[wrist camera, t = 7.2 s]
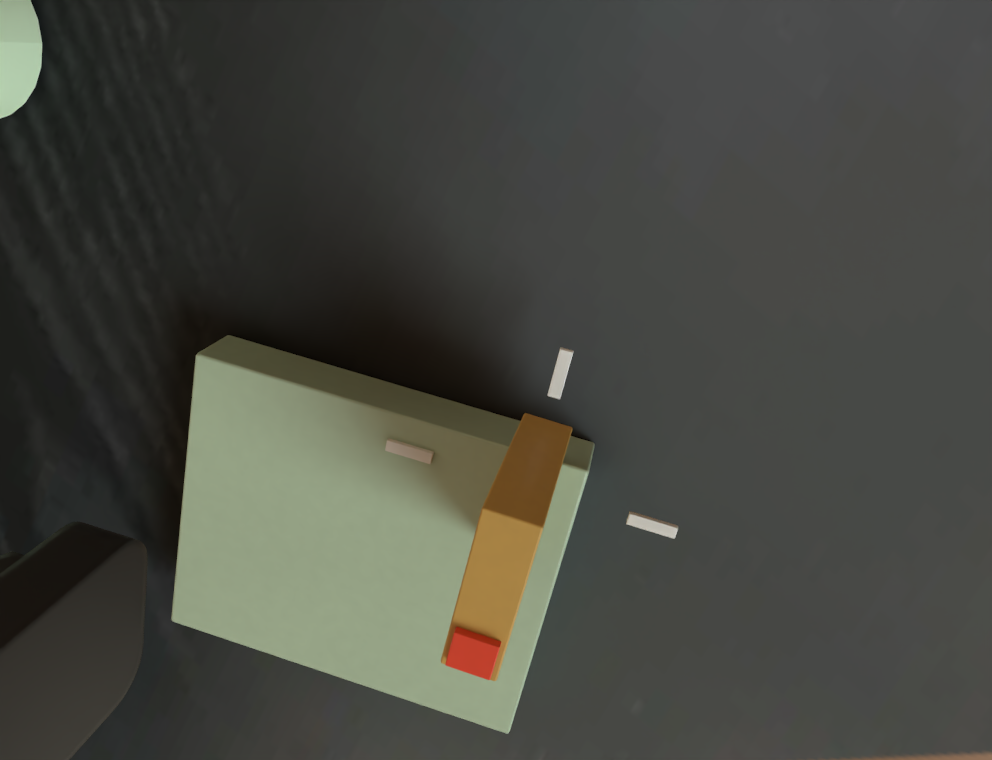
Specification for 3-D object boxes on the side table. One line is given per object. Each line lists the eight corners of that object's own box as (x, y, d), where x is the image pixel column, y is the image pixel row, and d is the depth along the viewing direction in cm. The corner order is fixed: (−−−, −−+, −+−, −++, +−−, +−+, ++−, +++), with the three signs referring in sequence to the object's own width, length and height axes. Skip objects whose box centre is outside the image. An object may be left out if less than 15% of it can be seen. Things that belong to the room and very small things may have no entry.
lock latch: (524, 411, 23) (479, 513, 18) (573, 427, 23) (541, 533, 18) (488, 542, 25) (436, 670, 20) (533, 557, 25) (493, 689, 20)
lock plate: (722, 368, 24) (726, 396, 22) (597, 719, 29) (591, 767, 27) (238, 232, 25) (201, 246, 23) (200, 588, 30) (167, 624, 28)
